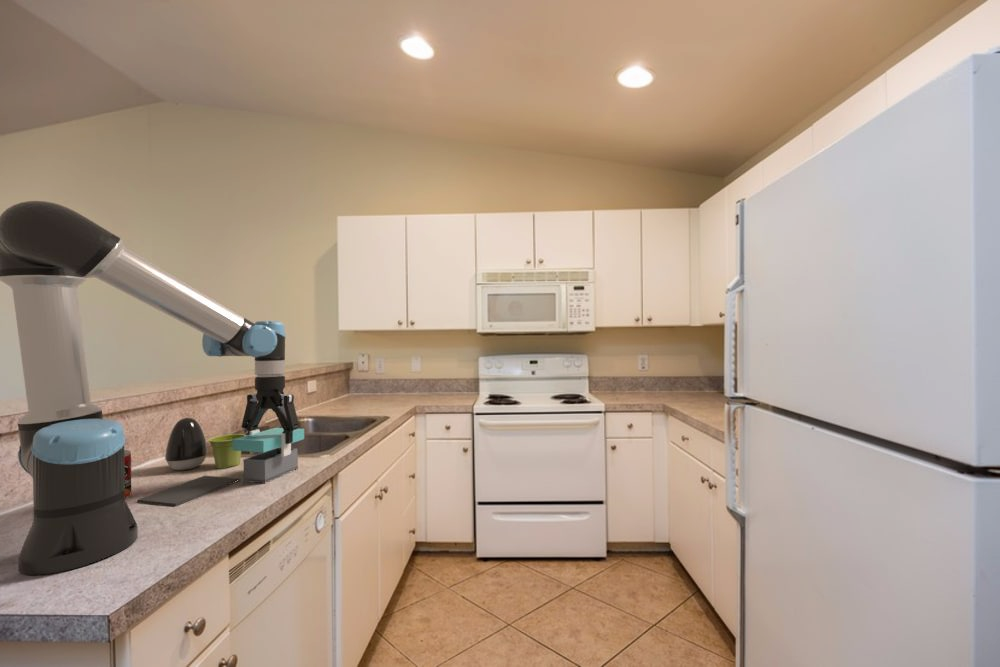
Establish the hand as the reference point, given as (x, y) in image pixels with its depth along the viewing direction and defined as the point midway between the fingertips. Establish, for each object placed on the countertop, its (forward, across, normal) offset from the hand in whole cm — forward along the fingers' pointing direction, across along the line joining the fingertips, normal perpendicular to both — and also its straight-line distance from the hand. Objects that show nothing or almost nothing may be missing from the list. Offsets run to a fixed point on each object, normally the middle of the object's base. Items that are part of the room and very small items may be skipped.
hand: (270, 454), depth 114 cm
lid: (-3, 0, 0) cm, 3 cm away
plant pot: (+6, +21, -5) cm, 22 cm away
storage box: (+6, 0, 0) cm, 6 cm away
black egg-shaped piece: (+6, +32, -1) cm, 32 cm away
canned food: (+7, +27, +22) cm, 35 cm away
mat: (+6, +11, +14) cm, 19 cm away
